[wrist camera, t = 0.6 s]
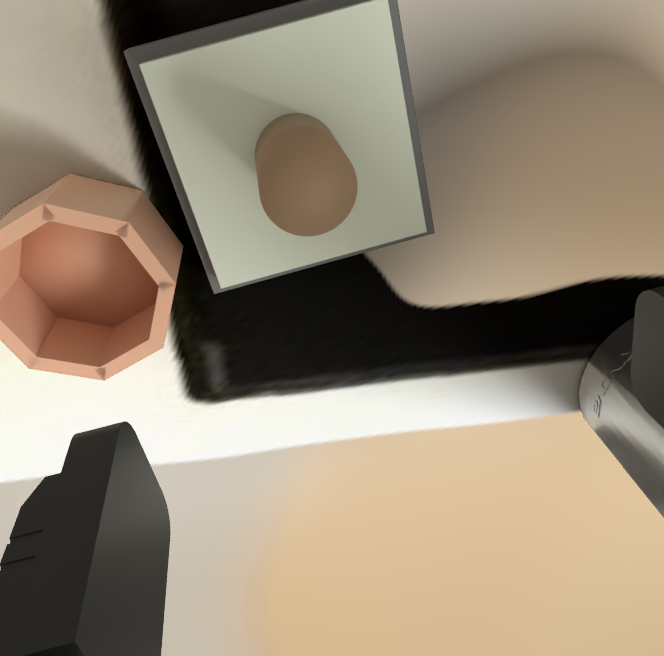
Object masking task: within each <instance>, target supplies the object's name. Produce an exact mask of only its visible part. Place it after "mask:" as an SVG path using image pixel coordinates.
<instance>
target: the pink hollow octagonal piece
mask: <svg viewBox="0 0 664 656" xmlns="http://www.w3.org/2000/svg"><path fill="white" fill-rule="evenodd" d="M182 250H183V245H182V244H181V242H180V241H179V240H178V238H177V237H176V236H175V234H174V233H173V231H172V230H171V229H170V227H169V226H168V225H167V223H166V222H165V221H164V219H163V218H162V216H161V215H160V214H159V212H158V211H157V210H156V208H155V207H154V205H153V204H152V203H151V201H150V200H149V199H148V197H147V196H146V195H145V193H144V192H143V191H142V190H137V189H133V188H129V187H125V186H121V185H116V184H112V183H108V182H104V181H99V180H95V179H91V178H87V177H83V176H78V175H74V174H68V175H66V176H65V177H63V178H62V179H60V180H58V181H57V182H55V183H53V184H52V185H50V186H49V187H47V188H45V189H44V190H42V191H40V192H39V193H37V194H36V195H34V196H32V197H31V198H29V199H27V200H26V201H24V202H23V203H21V204H19V205H18V206H16V207H15V208H13V209H12V210H11V211H10V212H9V213H8V214H7V215H6V216H5V217H4V218H3V219H2V220H1V221H0V340H1V341H2V342H3V343H4V344H5V345H6V346H7V347H8V348H9V349H10V350H11V351H12V352H13V353H14V354H15V355H16V356H17V357H18V358H19V359H20V360H21V361H22V362H23V363H24V364H25V365H26V366H27V367H28V368H29V369H36V370H42V371H48V372H54V373H61V374H67V375H73V376H80V377H86V378H92V379H99V380H106V379H108V378H110V377H111V376H113V375H115V374H117V373H119V372H120V371H122V370H124V369H126V368H127V367H129V366H131V365H133V364H135V363H136V362H138V361H140V360H142V359H143V358H145V357H147V356H149V355H151V354H152V353H154V352H156V351H158V350H160V349H161V348H163V347H164V342H165V337H166V331H167V326H168V321H169V316H170V311H171V306H172V301H173V296H174V291H175V286H176V281H177V276H178V271H179V266H180V260H181V255H182Z"/></svg>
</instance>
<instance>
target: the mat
mask: <svg viewBox="0 0 664 656" xmlns="http://www.w3.org/2000/svg"><path fill="white" fill-rule="evenodd" d="M365 1H368V0H302V1H299V2H295V3H291V4H288V5H284V6H280V7H277V8H273V9H270V10H266V11H262V12H259V13H255V14H251V15H248V16H244V17H240V18H237V19H233V20H229V21H226V22H222V23H218V24H215V25H211V26H208V27H204V28H200V29H197V30H193V31H189V32H186V33H182V34H178V35H175V36H171V37H167V38H164V39H160V40H156V41H153V42H149V43H146V44H142V45H138V46H135V47H131V48H128V49H127V50H125V51H123V52H124V55H125V58H126V60H127V63H128V66H129V68H130V71H131V74H132V76H133V79H134V82H135V84H136V87H137V90H138V92H139V95H140V98H141V100H142V103H143V106H144V108H145V111H146V114H147V116H148V119H149V122H150V124H151V127H152V130H153V132H154V135H155V138H156V140H157V143H158V146H159V148H160V151H161V154H162V156H163V159H164V162H165V164H166V167H167V170H168V172H169V175H170V178H171V180H172V183H173V186H174V188H175V191H176V194H177V196H178V199H179V202H180V204H181V207H182V210H183V212H184V215H185V218H186V220H187V223H188V226H189V228H190V231H191V234H192V236H193V239H194V242H195V244H196V247H197V250H198V252H199V255H200V258H201V260H202V263H203V266H204V268H205V271H206V274H207V276H208V279H209V282H210V284H211V287H212V290H213V292H214V294H216V293H219V292H223V291H227V290H230V289H234V288H237V287H241V286H245V285H248V284H252V283H255V282H259V281H263V280H266V279H270V278H274V277H277V276H281V275H284V274H288V273H292V272H295V271H299V270H302V269H306V268H310V267H313V266H317V265H321V264H324V263H328V262H331V261H335V260H339V259H342V258H346V257H349V256H353V255H357V254H360V253H364V252H368V251H371V250H375V249H378V248H382V247H386V246H389V245H392V244H396V243H400V242H403V241H407V240H411V239H414V238H418V237H422V236H425V235H429V234H433V233H434V226H433V220H432V214H431V208H430V202H429V196H428V190H427V183H426V177H425V170H424V164H423V158H422V152H421V146H420V139H419V133H418V127H417V121H416V115H415V109H414V103H413V96H412V90H411V83H410V77H409V71H408V65H407V58H406V53H405V46H404V40H403V34H402V27H401V22H400V15H399V9H398V2H397V0H388V4H389V9H390V15H391V21H392V27H393V33H394V39H395V45H396V51H397V57H398V63H399V69H400V75H401V81H402V87H403V93H404V99H405V105H406V111H407V117H408V123H409V129H410V135H411V141H412V147H413V153H414V159H415V165H416V171H417V177H418V183H419V189H420V195H421V201H422V207H423V213H424V218H425V224H426V230H427V232H424V233H421V234H417V235H414V236H410V237H406V238H403V239H399V240H395V241H392V242H388V243H385V244H381V245H377V246H374V247H370V248H367V249H363V250H359V251H356V252H352V253H348V254H345V255H341V256H338V257H334V258H330V259H327V260H323V261H320V262H316V263H312V264H309V265H305V266H301V267H298V268H294V269H291V270H287V271H283V272H280V273H276V274H272V275H269V276H265V277H262V278H258V279H254V280H251V281H247V282H244V283H240V284H236V285H233V286H229V287H225V288H222V289H221V287H220V284H219V281H218V279H217V276H216V273H215V270H214V268H213V265H212V262H211V259H210V257H209V254H208V251H207V249H206V246H205V243H204V240H203V238H202V235H201V232H200V229H199V227H198V224H197V221H196V219H195V216H194V213H193V210H192V208H191V205H190V202H189V199H188V197H187V194H186V191H185V189H184V186H183V183H182V180H181V178H180V175H179V172H178V169H177V167H176V164H175V161H174V159H173V156H172V153H171V150H170V148H169V145H168V142H167V139H166V137H165V134H164V131H163V129H162V126H161V123H160V120H159V118H158V115H157V112H156V109H155V107H154V104H153V101H152V99H151V96H150V93H149V90H148V88H147V85H146V82H145V79H144V77H143V74H142V71H141V69H140V66H139V65H140V64H141V63H142V62H146V61H150V60H153V59H157V58H161V57H164V56H168V55H172V54H175V53H179V52H182V51H186V50H190V49H193V48H197V47H201V46H204V45H208V44H212V43H215V42H219V41H223V40H226V39H230V38H233V37H237V36H241V35H244V34H248V33H252V32H255V31H259V30H263V29H266V28H270V27H274V26H277V25H281V24H284V23H288V22H292V21H295V20H299V19H303V18H306V17H310V16H314V15H317V14H321V13H325V12H328V11H332V10H335V9H339V8H343V7H346V6H350V5H354V4H357V3H361V2H365Z"/></svg>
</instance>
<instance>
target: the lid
mask: <svg viewBox="0 0 664 656" xmlns="http://www.w3.org/2000/svg"><path fill="white" fill-rule="evenodd" d="M139 66H140V69H141V71H142V74H143V77H144V79H145V82H146V85H147V88H148V90H149V93H150V96H151V99H152V101H153V104H154V107H155V109H156V112H157V115H158V118H159V120H160V123H161V126H162V129H163V131H164V134H165V137H166V139H167V142H168V145H169V148H170V150H171V153H172V156H173V159H174V161H175V164H176V167H177V169H178V172H179V175H180V178H181V180H182V183H183V186H184V189H185V191H186V194H187V197H188V199H189V202H190V205H191V208H192V210H193V213H194V216H195V219H196V221H197V224H198V227H199V229H200V232H201V235H202V238H203V240H204V243H205V246H206V249H207V251H208V254H209V257H210V259H211V262H212V265H213V268H214V270H215V273H216V276H217V279H218V281H219V284H220V287H221V289H222V288H225V287H229V286H233V285H236V284H240V283H244V282H247V281H251V280H254V279H258V278H262V277H265V276H269V275H272V274H276V273H280V272H283V271H287V270H291V269H294V268H298V267H301V266H305V265H309V264H312V263H316V262H320V261H323V260H327V259H330V258H334V257H338V256H341V255H345V254H348V253H352V252H356V251H359V250H363V249H367V248H370V247H374V246H377V245H381V244H385V243H388V242H392V241H395V240H399V239H403V238H406V237H410V236H414V235H417V234H421V233H424V232H427V230H426V224H425V218H424V213H423V207H422V201H421V195H420V189H419V183H418V177H417V171H416V165H415V159H414V153H413V147H412V141H411V135H410V129H409V123H408V117H407V111H406V105H405V99H404V93H403V87H402V81H401V75H400V69H399V63H398V57H397V51H396V45H395V39H394V33H393V27H392V21H391V15H390V9H389V4H388V0H368V1H365V2H361V3H357V4H354V5H350V6H346V7H343V8H339V9H335V10H332V11H328V12H325V13H321V14H317V15H314V16H310V17H306V18H303V19H299V20H295V21H292V22H288V23H284V24H281V25H277V26H274V27H270V28H266V29H263V30H259V31H255V32H252V33H248V34H244V35H241V36H237V37H233V38H230V39H226V40H223V41H219V42H215V43H212V44H208V45H204V46H201V47H197V48H193V49H190V50H186V51H182V52H179V53H175V54H172V55H168V56H164V57H161V58H157V59H153V60H150V61H146V62H142V63H141V64H140V65H139Z"/></svg>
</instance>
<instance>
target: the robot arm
mask: <svg viewBox="0 0 664 656" xmlns="http://www.w3.org/2000/svg"><path fill="white" fill-rule="evenodd" d="M579 403H580V408H581V411H582V414H583V417H584V418H585V419H586V421H587V422H588V423H589V425H590V426H591V428H592V429H593V430H594V431H595V432H596V434H597V435H598V436H599V438H601V440H602V441H603V443H604V444H605V445H606V446H607V447H608V449H609V450H610V451H611V452H612V454H613V455H614V456H615V457H616V459H617V460H618V461H619V462H620V464H621V465H622V466H623V468H624V469H625V470H626V472H627V473H628V474H629V475H630V477H631V478H632V479H633V480H634V481H635V482H636V484H637V485H638V486H639V488H640V489H641V490H642V491H643V493H644V494H645V495H646V496H647V498H648V499H649V500H650V501H651V502H652V504H653V505H654V506H655V507H656V509H657V510H658V511H659V512H660V514H661V515H662V516H663V517H664V286H662V287H658V288H654V289H650V290H646V291H643V292H642V293H641V294H640V295H639V296H638V298H637V301H636V306H635V317H634V318H632V319H630V320H628V321H627V322H625V323H624V324H623V325H621V326H620V327H619V328H618V329H616V330H615V331H614V332H612V333H611V334H610V335H609V336H608V337H607V338H606V340H605V341H604V342H603V343H602V344H601V345H600V346H599V347H598V348H597V350H596V351H595V353H594V354H593V356H592V357H591V359H590V360H589V362H588V364H587V366H586V369H585V371H584V373H583V376H582V379H581V384H580V389H579ZM10 541H11V542H10V544H7V547H6V549H5V552H4V554H3V557H2V560H1V563H0V566H1V570H0V656H161V648H162V635H163V622H164V609H165V596H166V583H167V571H168V558H169V544H170V520H169V514H168V509H167V504H166V501H165V498H164V495H163V493H162V490H161V488H160V486H159V484H158V481H157V479H156V477H155V475H154V473H153V470H152V468H151V466H150V464H149V462H148V459H147V457H146V455H145V453H144V451H143V448H142V446H141V444H140V442H139V439H138V437H137V435H136V433H135V431H134V429H133V428H132V426H131V425H130V424H129V423H128V422H121V423H117V424H113V425H109V426H105V427H102V428H98V429H94V430H90V431H86V432H82V433H78V434H75V435H74V436H73V438H72V440H71V442H70V446H69V449H68V452H67V455H66V458H65V462H64V465H63V468H62V471H61V473H59V474H55V475H51V476H47V477H45V478H44V479H43V480H42V481H41V483H40V484H39V485H38V486H37V488H36V489H35V490H34V491H33V493H32V494H31V495H30V496H29V498H28V499H27V500H26V501H25V503H24V504H23V505H22V506H21V508H20V511H19V514H18V517H17V519H16V522H15V525H14V527H13V530H12V533H11V535H10Z"/></svg>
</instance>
